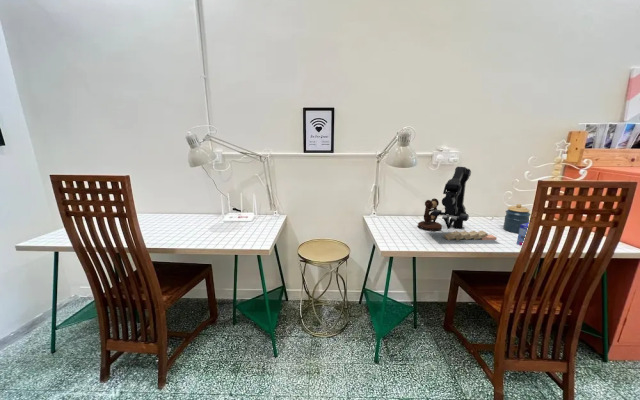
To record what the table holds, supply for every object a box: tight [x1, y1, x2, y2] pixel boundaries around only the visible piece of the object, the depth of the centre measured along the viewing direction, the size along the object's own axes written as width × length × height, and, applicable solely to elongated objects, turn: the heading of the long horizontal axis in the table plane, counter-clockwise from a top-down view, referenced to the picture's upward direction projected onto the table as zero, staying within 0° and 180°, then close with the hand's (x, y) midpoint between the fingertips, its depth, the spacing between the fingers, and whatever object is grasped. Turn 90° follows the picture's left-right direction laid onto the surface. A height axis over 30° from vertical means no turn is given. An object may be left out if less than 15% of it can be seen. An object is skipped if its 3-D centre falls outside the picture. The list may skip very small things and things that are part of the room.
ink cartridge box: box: [516, 223, 529, 246], centre depth 147 cm, size 10×6×14 cm, turn 114°
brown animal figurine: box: [417, 198, 443, 232], centre depth 176 cm, size 15×15×20 cm
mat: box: [426, 231, 501, 245], centre depth 160 cm, size 19×34×1 cm, turn 89°
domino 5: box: [480, 233, 497, 241], centre depth 158 cm, size 2×5×8 cm
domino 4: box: [472, 229, 488, 240], centre depth 158 cm, size 2×5×8 cm
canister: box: [502, 203, 532, 234], centre depth 170 cm, size 13×13×18 cm
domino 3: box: [463, 230, 479, 240], centre depth 158 cm, size 2×5×8 cm
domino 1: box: [444, 230, 461, 240], centre depth 158 cm, size 2×5×8 cm
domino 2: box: [454, 230, 470, 240], centre depth 158 cm, size 2×5×8 cm
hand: (448, 228), depth 157 cm, fingers closed
